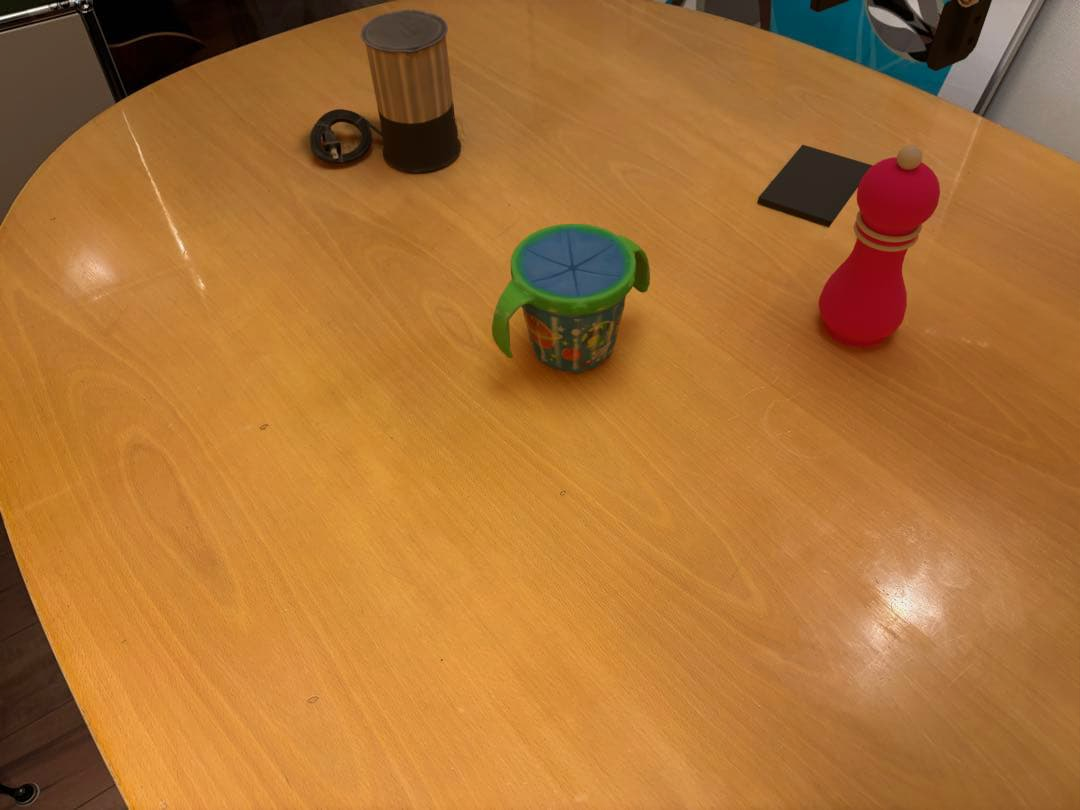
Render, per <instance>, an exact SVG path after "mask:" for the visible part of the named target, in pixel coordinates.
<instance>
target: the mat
mask: <svg viewBox="0 0 1080 810" xmlns="http://www.w3.org/2000/svg"><path fill="white" fill-rule="evenodd" d="M873 165H874V164H870V163H868V162H867V163H866V162H863V161H859V160H856V159H853V158H849V157H846V156H843V155H839V154H837V153H833V152H829V151H826V150H822V149H819V148H816V147H812V146H809V145H805V144H802V145H801V146H800V147H798V149H797V150H796V152H795V153H794V154H793V155H792V157H791V158H790V159H789V160H788V161H787V163H786V164H784V165H783V166H782V168H781V169H780V171H779V172H778V173H777V175H776V176H775V177H774V178H773V179H772V180H771V182H770V183H769V184H768V185H767V186H766V188H765V189H764V190H763V191H762V193H760V194H759V196H758V197H757V204H758V205H762V206H765V207H768V208H771V209H773V210H777V211H780V212H783V213H786V214H789V215H792V216H794V217H797V218H801V219H804V220H807V221H810V222H813V223H816V224H818V225H822V226H825V227H828V228H830V227H831V225H832V224H833V223H834V222H835V220H836V219H837V217H838V216H839V214H840V213H841V211H842V210H843V209H844V208H845V206H846V204H847V203H848V202H849V200H850V199H851V198H852V196H853V195H854V193H855V192H857V190H858V186H859V184H860V181H861V179H862V177H863V176H864V174H865V173H866V172H867V171H868V169H869V168H870V167H872V166H873Z"/></svg>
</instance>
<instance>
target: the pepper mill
mask: <svg viewBox="0 0 1080 810" xmlns="http://www.w3.org/2000/svg"><path fill="white" fill-rule="evenodd" d="M923 158H924V157H923V152H922V149H920V148H919V147H918V146H917V145H913V144H912V145H911V144H910V145H906V146H904V147H902V148H901V149H900V150H899V151H898V153H897V156H894V157H893V156H892V157H888V158H885V159H882V160H880V161H878V162H876V163H875V164H872V165H873V166H872V167H870V168H869V169H868V171H867V172H866V173H865V174H864V176H863V177H862V179H861V181H860V184H859V186H858V188H857V189H856V204H857V206H858V209H859V211H857V214H856V217H855V218H856V219H855V221H854V222H853V223H854V224H853V232H854V234H855V236H856V241H855V243H854V245H853V248H852V250H851V252H850V253H849V255H848V256H847V258H846V259H845V260H844V261H843V262H842V263H841V264H840V265H839V267H838V268H836V269H835V271H833V273H831V275H830V276H829V278H828V279H827V281H826V282H825V284H824V286H823V288H822V290H821V292H820V295H819V299H818V309H819V313H820V316H821V318H822V320H823V326H824V329H825V331H826V333H828V335H829V336H830V337H831V338H832V339H833V340H836V341H837V342H839V343H841V344H843V345H846V346H849V347H854V348H869V347H874V346H876V345H878V344H881V343H882V342H883V341H884V340H885V339H886V337H888V336H890V335H891V334H893V333H894V332H896V331H897V330H898V329H899V327H900V326H901V325H902V323H903V321H904V319H905V314H906V311H907V306H908V302H907V301H908V297H907V295H908V294H907V288H906V284H905V279H904V275H903V265H904V260H905V257H906V255H907V252H908V250H909V249H910V248H912V247H914V246H915V245H916V243H917V242H918V240H919V237H920V234H921V232H922V230H923V224H924V223H925V222H927V221H928V220H929V219H930V218H931V217H932V216H933V215H934V213H935V211H936V209H937V208H938V205H939V201H940V195H941V185H940V181H939V179H938V177H937V175H936V173H935V172H934V170H933V169H932V168H931V167H929V166H928V165H927V164H925V163H924V162H923Z"/></svg>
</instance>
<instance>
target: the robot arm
mask: <svg viewBox="0 0 1080 810" xmlns="http://www.w3.org/2000/svg"><path fill="white" fill-rule="evenodd" d="M849 1H850V0H810V3H809V9H810V10H811V11H813V12H815V13H820V12H823V11H826V10H830V9H831V8H834V7H837V6H840V5H843V4H845V3H848V2H849ZM992 3H993V0H948V1H946V2H945V3H944V5H943V7H942V9H941V13H940V16H939V19H938V23H937V25H936V28H935V33H934V36H933V38H932V42H931V46H930V49H929V51H928V55H927V57H926V61H925V62H926V63H925V64H926V66H927V68H928V69H930V70H931V71H934V72H938V71H940V70H943V69H945V68H947V67H950V66H952V65H954V64H957V63H959V62H961V61H964V60H966V59H967V58H968V57H969V56H970V54H972V52H974V50H975V49H976V47H977V45H978V42H979V39H980V36H981V34H982V30H983V27H984V25H985V22H986V19H987V16H988V13H989V10H990V7H991V5H992Z"/></svg>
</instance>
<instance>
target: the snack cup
mask: <svg viewBox="0 0 1080 810" xmlns="http://www.w3.org/2000/svg"><path fill="white" fill-rule="evenodd" d="M510 276H511V279H510V281H509V283H508V284H507V285H506V286H505V288H504V290H503V291H502V292H501V295H500V296H499V298H498V299H497V303H496V306H495V309H494V312H493V317H492V324H491V335H492V338H493V340H494V341H493V342H495V344H496V345H497V347H498V349H499V350H500V351H501V353H503V354H504V355H505V357H506V358H508V359H513V357H514V356H513V353H512V351H511V337H510V334H511V333H510V320H511V318H512V317H513V316H514V315H515V313H516V312H517V311H518V310H519V309H520V308H522V312H523V313H522V314H523V317H524V321H525V325H526V328H527V332H528V336H529V342H530V344H531V347H532V349H533V352H534V354H535V356H536V358H537V360H538V362H540V363H541V364H543V365H546V366H548V367H550V368H552V369H554V370H557V371H561V372H564V373H567V372H569V373H572V374H575V375H577V374H581V373H582V374H583V373H584V372H585V371H588V370H593V369H595V368H597V367H598V366H600V365H601V364H603V363H604V362H605V361H606V360H607V359H609V358H610V357H611V356H612V354H613V349H614V347H615V345H616V342H617V339H618V333H619V330H620V327H621V322H622V319H623V314H624V310H625V306H626V305H625V304H626V297H627V295H628V294H629V293H630V292H631V291H632V289H633V288H634V289H635V290H637V292H640V293H642V294H643V293H647V292H648V290H649V287H650V284H651V283H650V282H651V269H650V263H649V258H648V256H647V253H646V251H644V250H643V248H642V247H640V246H639V245H638V243H636V242H634V241H633V240H632V239H629V237H626V236H624V235H622V234H621V235H620V234H617V233H614V232H612V231H610V230H609V229H606V228H604V227H600V226H597V225H591V224H585V223H562V224H561V223H560V224H555V225H550V226H546V227H544V228H541V229H537V230H536V231H534V232H532V233H530V234H529V235H527V236H526V237H524V239H522V240H520V242H518V244H517V245H516V246H515V248H514V250H513V252H512V255H511V257H510Z"/></svg>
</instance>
